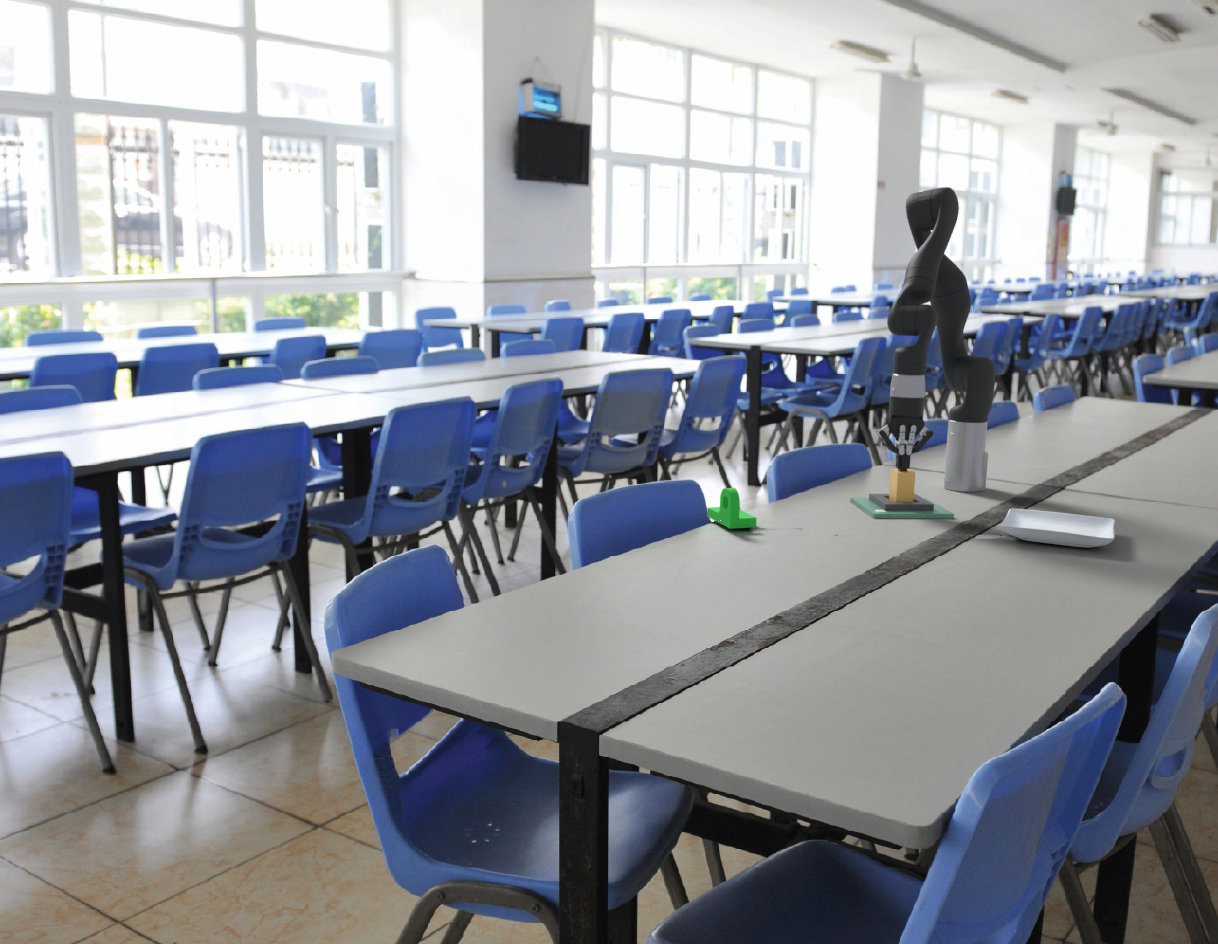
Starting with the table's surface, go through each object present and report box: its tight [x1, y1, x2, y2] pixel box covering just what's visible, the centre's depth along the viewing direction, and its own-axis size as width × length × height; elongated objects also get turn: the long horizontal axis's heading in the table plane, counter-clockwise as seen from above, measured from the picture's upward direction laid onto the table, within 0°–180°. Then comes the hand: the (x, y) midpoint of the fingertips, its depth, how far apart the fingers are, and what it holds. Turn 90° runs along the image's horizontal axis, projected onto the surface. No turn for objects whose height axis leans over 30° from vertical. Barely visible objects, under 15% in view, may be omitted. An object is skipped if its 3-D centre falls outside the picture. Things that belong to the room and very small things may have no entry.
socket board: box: [849, 493, 955, 519], centre depth 255 cm, size 18×18×2 cm
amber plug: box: [888, 468, 916, 502], centre depth 255 cm, size 4×5×8 cm
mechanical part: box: [706, 487, 757, 529], centre depth 240 cm, size 12×6×8 cm, turn 18°
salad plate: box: [1000, 508, 1116, 548], centre depth 233 cm, size 21×21×3 cm
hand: (902, 470), depth 254 cm, fingers closed
